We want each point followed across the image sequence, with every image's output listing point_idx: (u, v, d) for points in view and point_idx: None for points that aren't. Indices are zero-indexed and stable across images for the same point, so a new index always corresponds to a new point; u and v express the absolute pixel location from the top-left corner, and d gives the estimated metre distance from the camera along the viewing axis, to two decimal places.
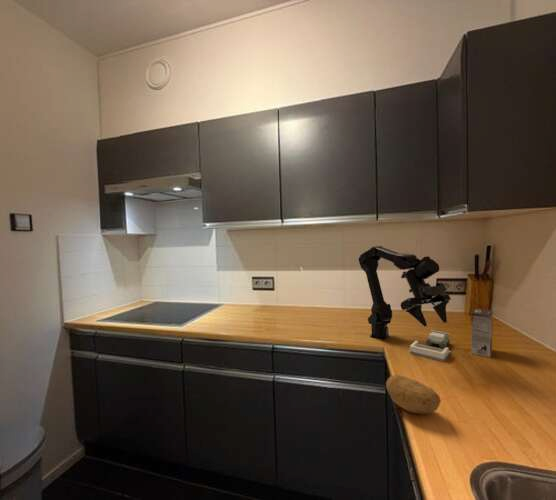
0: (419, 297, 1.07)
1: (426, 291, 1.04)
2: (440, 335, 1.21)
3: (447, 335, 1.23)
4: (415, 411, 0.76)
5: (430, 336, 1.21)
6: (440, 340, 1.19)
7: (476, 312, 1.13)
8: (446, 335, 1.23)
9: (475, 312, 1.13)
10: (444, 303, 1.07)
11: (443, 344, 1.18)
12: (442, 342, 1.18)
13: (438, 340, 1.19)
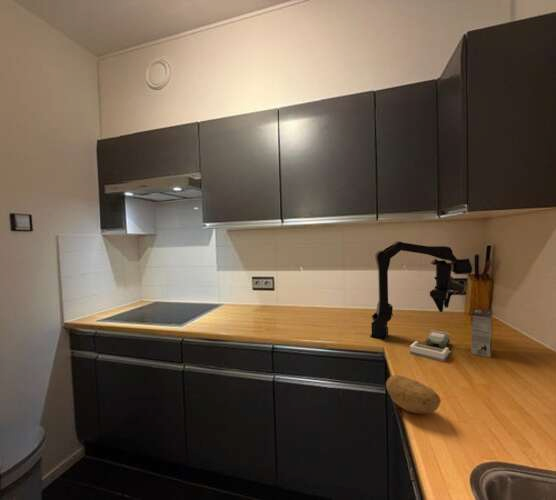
0: (444, 288, 1.25)
1: (455, 287, 1.23)
2: (440, 335, 1.21)
3: (447, 335, 1.23)
4: (415, 411, 0.76)
5: (430, 336, 1.21)
6: (440, 340, 1.19)
7: (476, 312, 1.13)
8: (446, 335, 1.23)
9: (475, 312, 1.13)
10: None
11: (443, 344, 1.18)
12: (442, 342, 1.18)
13: (438, 340, 1.19)
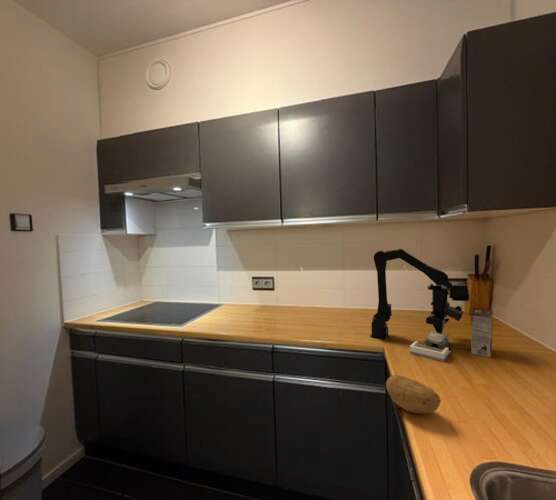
0: (440, 314, 1.22)
1: (451, 314, 1.20)
2: (439, 335, 1.20)
3: (446, 336, 1.22)
4: (415, 411, 0.76)
5: (429, 336, 1.20)
6: (439, 340, 1.18)
7: (476, 312, 1.13)
8: (445, 336, 1.22)
9: (475, 312, 1.13)
10: (447, 321, 1.24)
11: (442, 344, 1.16)
12: (441, 342, 1.17)
13: (437, 340, 1.18)
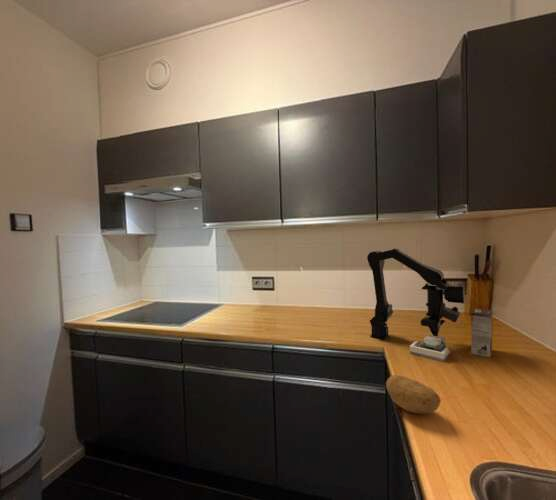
0: (436, 315, 1.17)
1: (447, 315, 1.14)
2: (436, 339, 1.15)
3: (443, 339, 1.17)
4: (415, 411, 0.76)
5: (425, 340, 1.15)
6: (435, 344, 1.13)
7: (476, 312, 1.13)
8: (442, 339, 1.17)
9: (475, 312, 1.13)
10: (442, 323, 1.19)
11: (438, 348, 1.11)
12: (437, 346, 1.12)
13: (433, 344, 1.13)
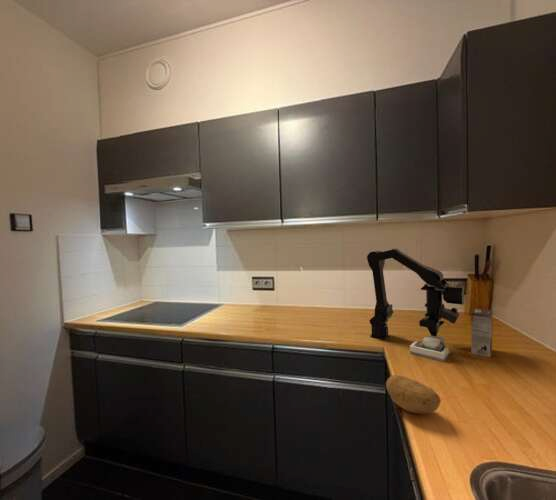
0: (434, 316, 1.16)
1: (446, 316, 1.13)
2: (435, 340, 1.13)
3: (442, 340, 1.15)
4: (415, 411, 0.76)
5: (424, 341, 1.14)
6: (434, 345, 1.11)
7: (476, 312, 1.13)
8: (441, 340, 1.16)
9: (475, 312, 1.13)
10: (441, 324, 1.18)
11: (438, 350, 1.10)
12: (437, 348, 1.11)
13: (432, 345, 1.12)
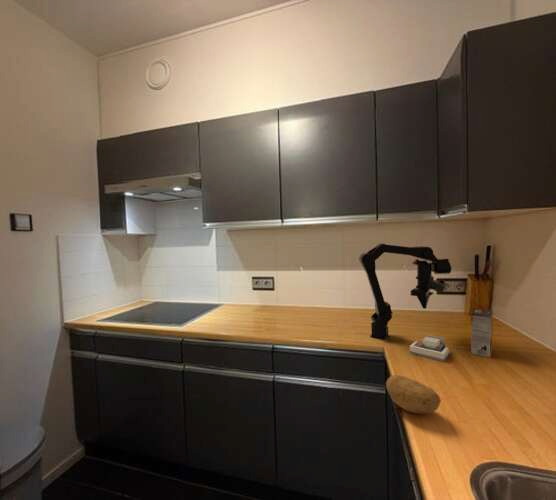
0: (424, 287, 1.28)
1: (434, 286, 1.26)
2: (435, 340, 1.13)
3: (442, 340, 1.15)
4: (415, 411, 0.76)
5: (424, 341, 1.14)
6: (434, 345, 1.11)
7: (476, 312, 1.13)
8: (441, 340, 1.16)
9: (475, 312, 1.13)
10: (431, 294, 1.30)
11: (438, 350, 1.10)
12: (437, 348, 1.11)
13: (432, 345, 1.12)
